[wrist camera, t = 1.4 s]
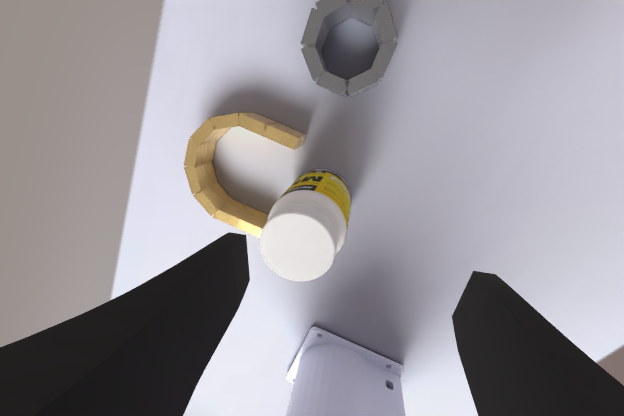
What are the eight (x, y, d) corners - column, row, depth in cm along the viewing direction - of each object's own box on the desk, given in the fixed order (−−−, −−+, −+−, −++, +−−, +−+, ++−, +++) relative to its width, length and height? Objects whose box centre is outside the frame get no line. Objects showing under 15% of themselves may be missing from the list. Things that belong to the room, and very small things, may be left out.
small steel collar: (405, 22, 16) (412, 8, 14) (368, 106, 18) (369, 106, 16) (328, -9, 17) (323, -28, 14) (300, 77, 19) (291, 73, 16)
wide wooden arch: (306, 134, 20) (298, 138, 17) (273, 225, 23) (262, 239, 21) (216, 96, 20) (197, 95, 18) (195, 192, 23) (177, 201, 21)
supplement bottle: (328, 155, 20) (305, 185, 12) (363, 205, 21) (363, 262, 13) (279, 190, 22) (233, 236, 14) (314, 235, 23) (289, 302, 15)
